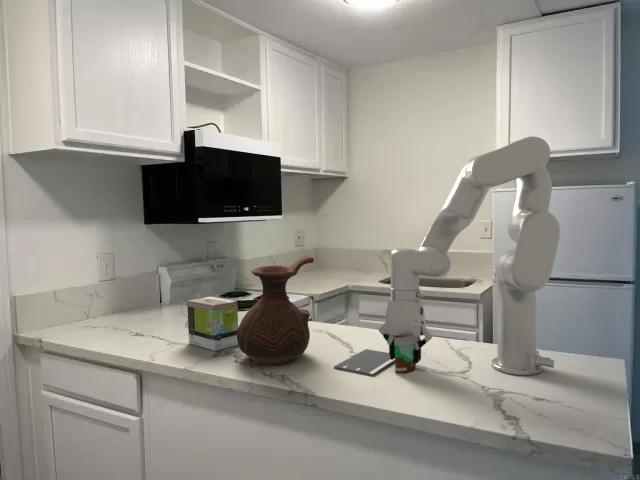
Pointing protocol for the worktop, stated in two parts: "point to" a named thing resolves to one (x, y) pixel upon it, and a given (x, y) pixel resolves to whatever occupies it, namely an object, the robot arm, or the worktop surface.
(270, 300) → the jug
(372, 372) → the mat
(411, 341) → the food container
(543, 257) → the robot arm
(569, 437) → the worktop surface
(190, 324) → the tea box
